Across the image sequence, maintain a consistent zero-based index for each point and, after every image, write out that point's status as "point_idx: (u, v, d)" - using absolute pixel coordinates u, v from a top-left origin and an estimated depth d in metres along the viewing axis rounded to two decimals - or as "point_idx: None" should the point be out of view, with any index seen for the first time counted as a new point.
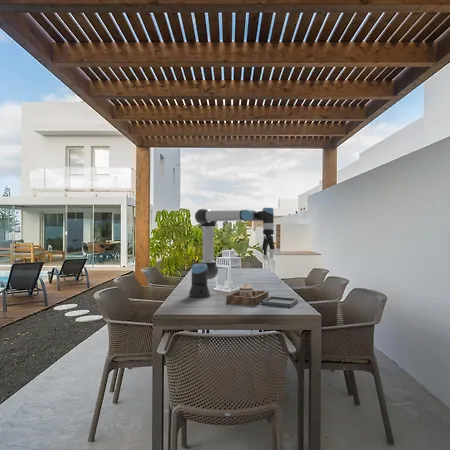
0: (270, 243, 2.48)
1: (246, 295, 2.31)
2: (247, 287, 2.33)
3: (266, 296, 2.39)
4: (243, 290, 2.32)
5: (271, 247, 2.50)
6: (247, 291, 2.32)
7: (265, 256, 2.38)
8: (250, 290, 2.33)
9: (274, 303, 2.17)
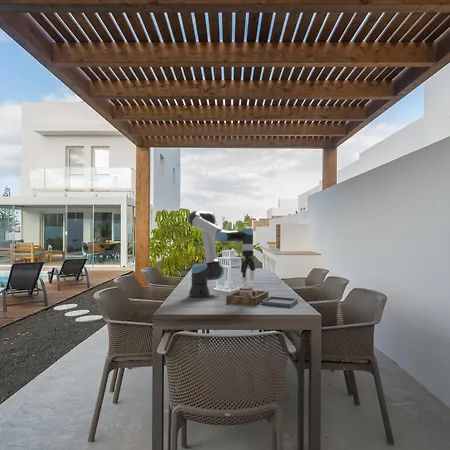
0: (250, 264, 2.39)
1: (246, 295, 2.31)
2: (247, 287, 2.33)
3: (266, 296, 2.39)
4: (243, 290, 2.32)
5: (251, 268, 2.41)
6: (247, 291, 2.32)
7: (244, 279, 2.29)
8: (250, 290, 2.33)
9: (274, 303, 2.17)
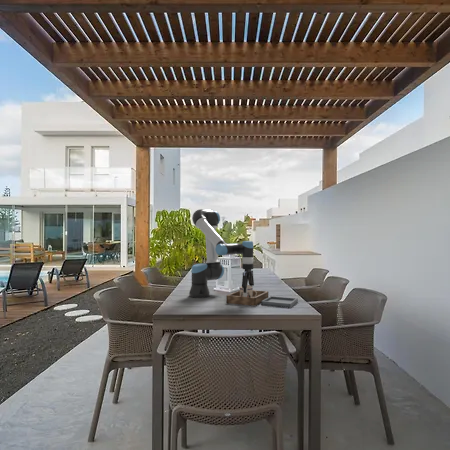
0: (249, 278, 2.38)
1: None
2: (247, 287, 2.33)
3: (266, 296, 2.39)
4: None
5: (250, 283, 2.39)
6: (247, 291, 2.32)
7: (245, 294, 2.30)
8: (250, 290, 2.33)
9: (274, 303, 2.17)
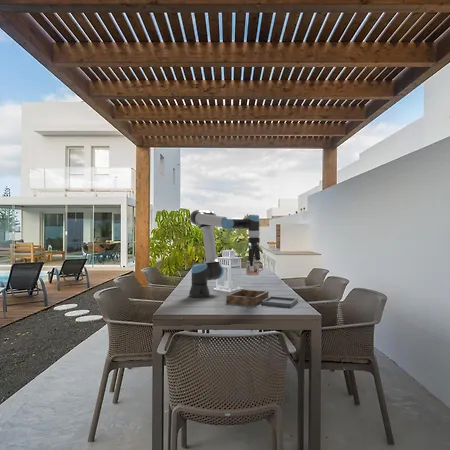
0: (256, 252, 2.36)
1: None
2: (254, 261, 2.31)
3: (266, 296, 2.39)
4: None
5: (257, 257, 2.38)
6: (254, 265, 2.30)
7: (252, 267, 2.29)
8: (257, 264, 2.31)
9: (274, 303, 2.17)
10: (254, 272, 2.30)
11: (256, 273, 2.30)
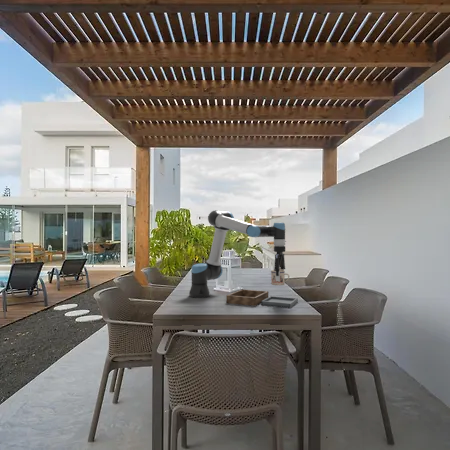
0: (281, 261, 2.28)
1: None
2: (279, 270, 2.23)
3: (266, 296, 2.39)
4: (275, 273, 2.23)
5: (282, 267, 2.30)
6: (280, 274, 2.22)
7: (277, 277, 2.21)
8: (283, 273, 2.23)
9: (274, 303, 2.17)
10: (280, 282, 2.22)
11: (282, 283, 2.23)
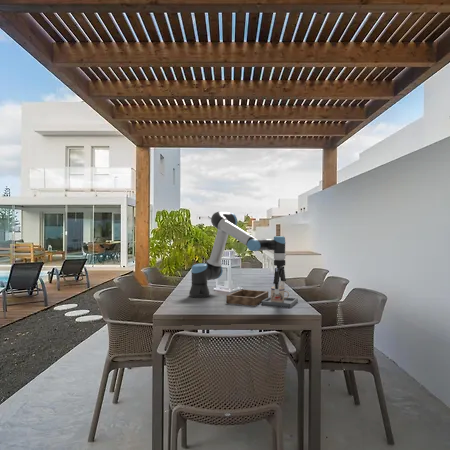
0: (281, 274, 2.29)
1: (278, 295, 2.22)
2: (280, 288, 2.23)
3: (266, 296, 2.39)
4: None
5: (282, 279, 2.31)
6: (280, 292, 2.22)
7: (277, 290, 2.20)
8: (283, 291, 2.23)
9: (274, 303, 2.17)
10: (280, 300, 2.22)
11: (281, 301, 2.23)
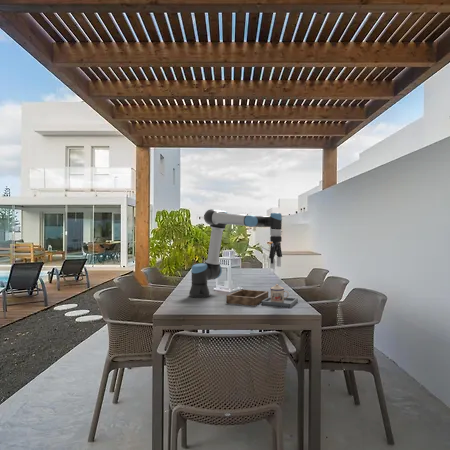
0: (277, 250, 2.34)
1: (278, 296, 2.22)
2: (279, 288, 2.23)
3: (266, 296, 2.39)
4: (275, 291, 2.22)
5: (278, 255, 2.36)
6: (279, 292, 2.22)
7: (272, 265, 2.24)
8: (282, 291, 2.23)
9: (274, 303, 2.17)
10: (279, 300, 2.22)
11: (281, 301, 2.23)
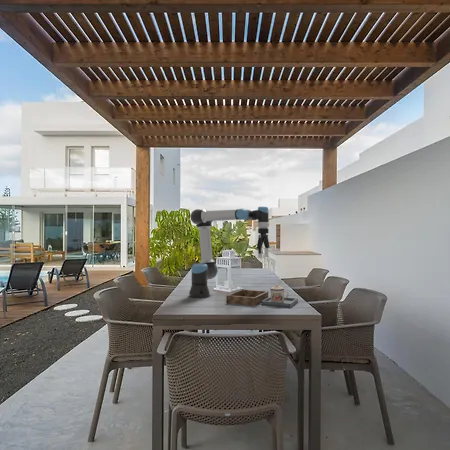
0: (265, 242, 2.50)
1: (278, 296, 2.22)
2: (279, 288, 2.23)
3: (266, 296, 2.39)
4: (275, 291, 2.22)
5: (266, 246, 2.53)
6: (279, 292, 2.22)
7: (260, 255, 2.40)
8: (282, 291, 2.23)
9: (274, 303, 2.17)
10: (280, 300, 2.22)
11: (281, 301, 2.23)
